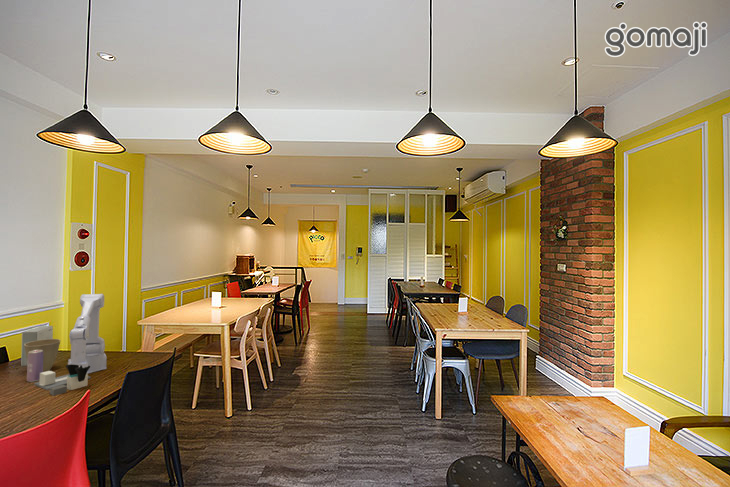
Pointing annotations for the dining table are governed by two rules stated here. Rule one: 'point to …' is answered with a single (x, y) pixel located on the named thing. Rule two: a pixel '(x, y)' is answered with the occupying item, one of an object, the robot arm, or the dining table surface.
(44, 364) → the plant pot
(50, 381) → the board
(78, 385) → the block
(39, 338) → the hard drive box
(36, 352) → the beverage can
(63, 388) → the block
